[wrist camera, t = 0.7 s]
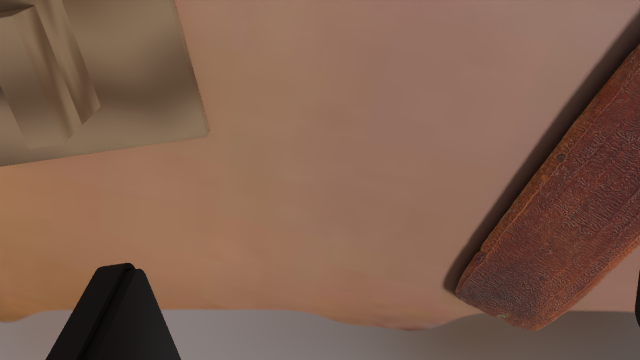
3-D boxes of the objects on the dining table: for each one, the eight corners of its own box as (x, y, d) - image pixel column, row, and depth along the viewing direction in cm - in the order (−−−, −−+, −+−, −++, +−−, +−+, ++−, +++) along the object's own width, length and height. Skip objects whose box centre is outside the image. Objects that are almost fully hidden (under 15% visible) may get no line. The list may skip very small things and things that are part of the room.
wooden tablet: (702, -45, 31) (719, -43, 30) (830, 43, 33) (853, 50, 31) (432, 283, 42) (435, 297, 41) (539, 336, 44) (545, 351, 42)
